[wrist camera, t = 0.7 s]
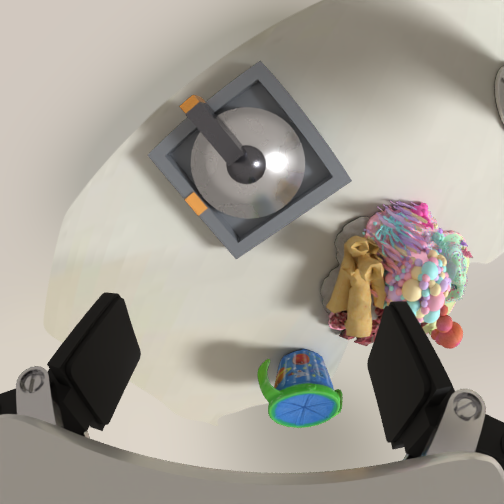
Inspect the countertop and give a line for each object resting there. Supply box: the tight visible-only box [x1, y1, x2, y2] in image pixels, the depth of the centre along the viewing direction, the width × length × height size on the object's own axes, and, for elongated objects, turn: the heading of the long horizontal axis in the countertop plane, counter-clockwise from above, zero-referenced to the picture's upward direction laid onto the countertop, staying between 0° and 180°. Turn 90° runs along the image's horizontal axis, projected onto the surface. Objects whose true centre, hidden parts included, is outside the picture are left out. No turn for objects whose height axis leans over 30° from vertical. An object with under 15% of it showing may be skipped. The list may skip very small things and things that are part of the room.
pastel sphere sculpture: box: [320, 201, 473, 348], centre depth 33 cm, size 25×24×9 cm
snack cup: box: [258, 349, 342, 428], centre depth 40 cm, size 16×10×10 cm
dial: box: [180, 95, 305, 219], centre depth 27 cm, size 15×12×5 cm
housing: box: [148, 61, 352, 259], centre depth 30 cm, size 16×16×3 cm
